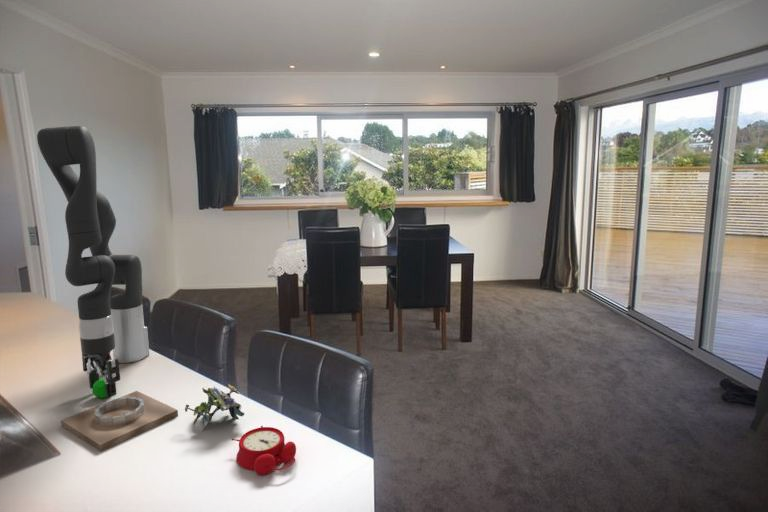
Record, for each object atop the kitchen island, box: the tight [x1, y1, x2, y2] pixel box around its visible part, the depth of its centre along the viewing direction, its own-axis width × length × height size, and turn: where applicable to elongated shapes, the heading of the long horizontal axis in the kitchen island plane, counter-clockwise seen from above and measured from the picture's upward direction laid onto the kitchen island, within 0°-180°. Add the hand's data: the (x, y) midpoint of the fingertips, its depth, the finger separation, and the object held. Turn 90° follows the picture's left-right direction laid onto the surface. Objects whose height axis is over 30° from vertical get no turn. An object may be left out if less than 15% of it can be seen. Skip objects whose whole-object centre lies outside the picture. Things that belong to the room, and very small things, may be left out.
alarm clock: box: [231, 425, 297, 476], centre depth 97 cm, size 10×6×15 cm
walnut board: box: [60, 390, 179, 452], centre depth 112 cm, size 18×18×2 cm
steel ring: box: [94, 397, 144, 426], centre depth 112 cm, size 10×10×2 cm
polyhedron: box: [91, 378, 108, 399], centre depth 124 cm, size 5×5×5 cm
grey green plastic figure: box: [184, 382, 246, 432], centre depth 111 cm, size 11×11×12 cm
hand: (103, 391), depth 124 cm, fingers open, 8 cm apart
